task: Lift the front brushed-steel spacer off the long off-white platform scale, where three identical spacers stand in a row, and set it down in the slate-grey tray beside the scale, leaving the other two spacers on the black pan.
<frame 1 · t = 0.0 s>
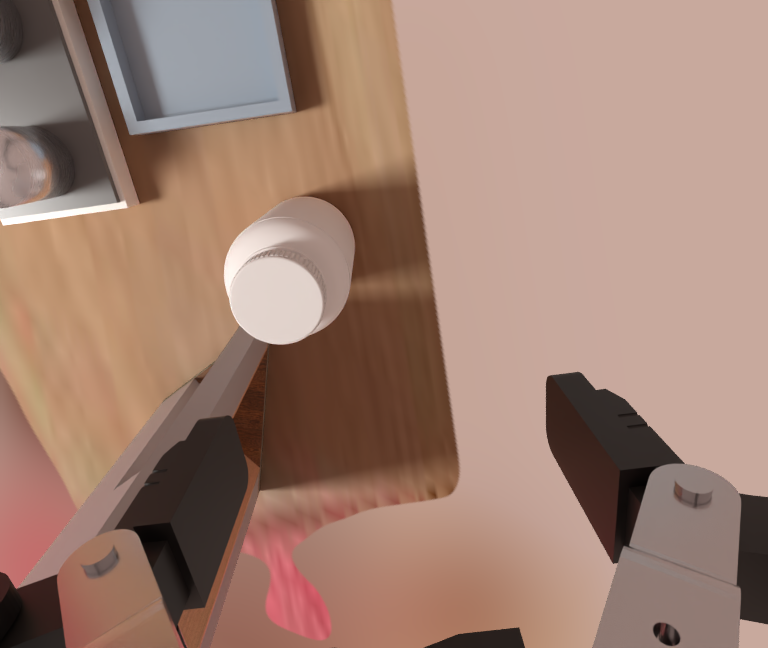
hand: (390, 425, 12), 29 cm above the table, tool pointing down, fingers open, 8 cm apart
pill bottle: (309, 242, 40), on the table
scale: (4, 12, 33), on the table
tray: (197, 33, 34), on the table
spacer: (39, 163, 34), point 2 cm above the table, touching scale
cabinet: (215, 400, 46), on the table
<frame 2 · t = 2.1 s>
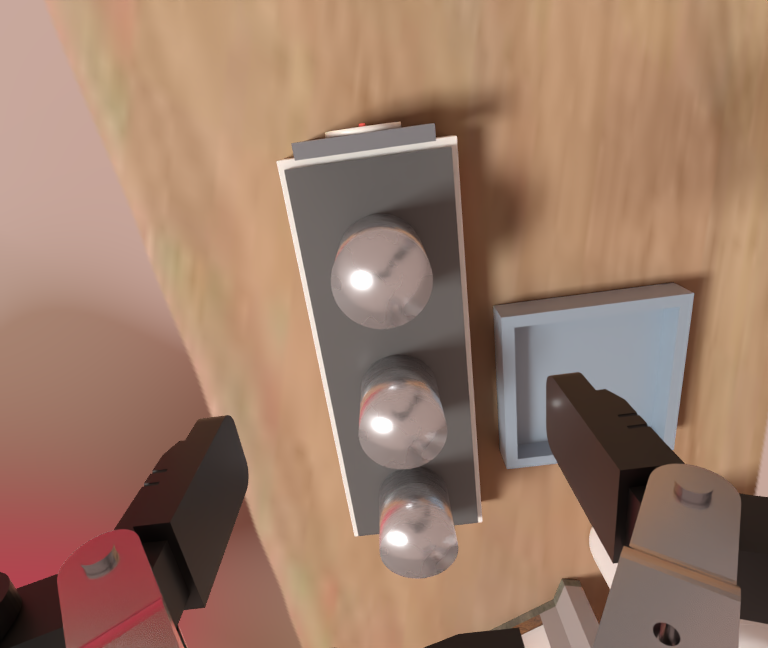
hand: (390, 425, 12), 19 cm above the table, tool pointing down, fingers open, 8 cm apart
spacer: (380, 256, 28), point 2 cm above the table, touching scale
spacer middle: (398, 388, 31), point 2 cm above the table, touching scale
pill bottle: (632, 528, 40), on the table
scale: (395, 358, 33), on the table
tray: (580, 372, 34), on the table
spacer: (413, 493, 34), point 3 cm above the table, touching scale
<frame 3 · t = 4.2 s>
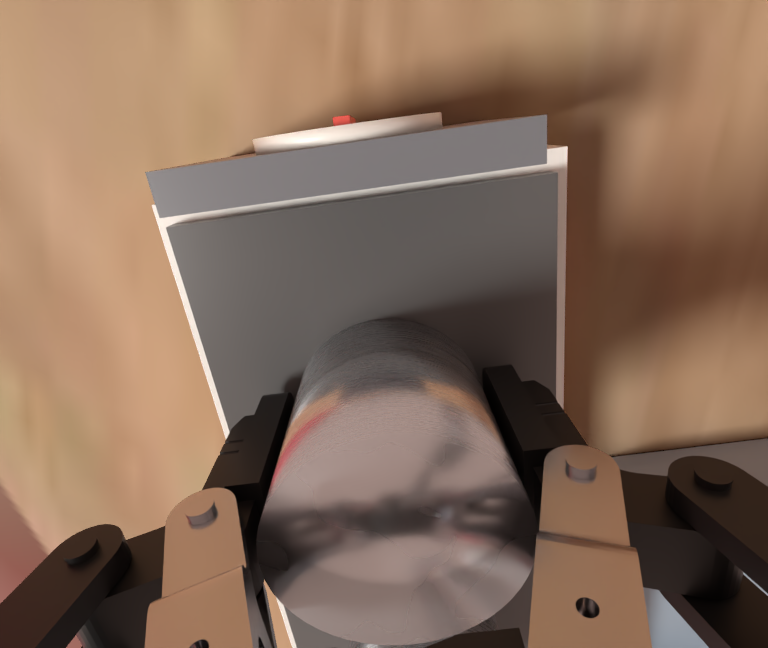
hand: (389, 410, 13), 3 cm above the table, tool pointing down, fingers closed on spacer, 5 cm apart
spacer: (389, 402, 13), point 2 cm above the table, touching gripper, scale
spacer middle: (422, 621, 16), point 2 cm above the table, touching scale
scale: (413, 542, 18), on the table
tray: (739, 559, 19), on the table
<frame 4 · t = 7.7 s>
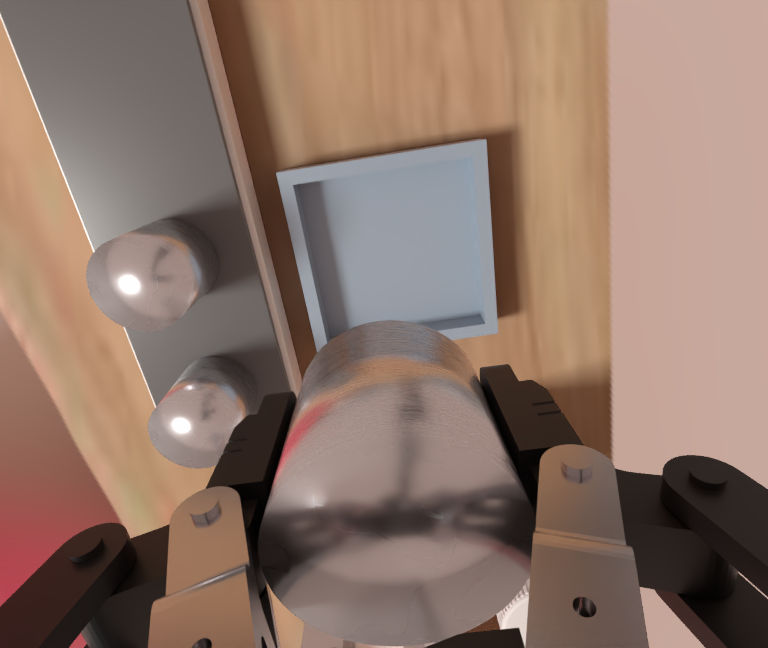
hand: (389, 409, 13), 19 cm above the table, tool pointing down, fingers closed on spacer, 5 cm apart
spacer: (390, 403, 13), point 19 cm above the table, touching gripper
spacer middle: (176, 260, 28), point 2 cm above the table, touching scale
pill bottle: (484, 437, 37), on the table
scale: (186, 235, 30), on the table
tray: (393, 250, 31), on the table
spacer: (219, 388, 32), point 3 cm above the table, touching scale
cabinet: (363, 580, 43), on the table
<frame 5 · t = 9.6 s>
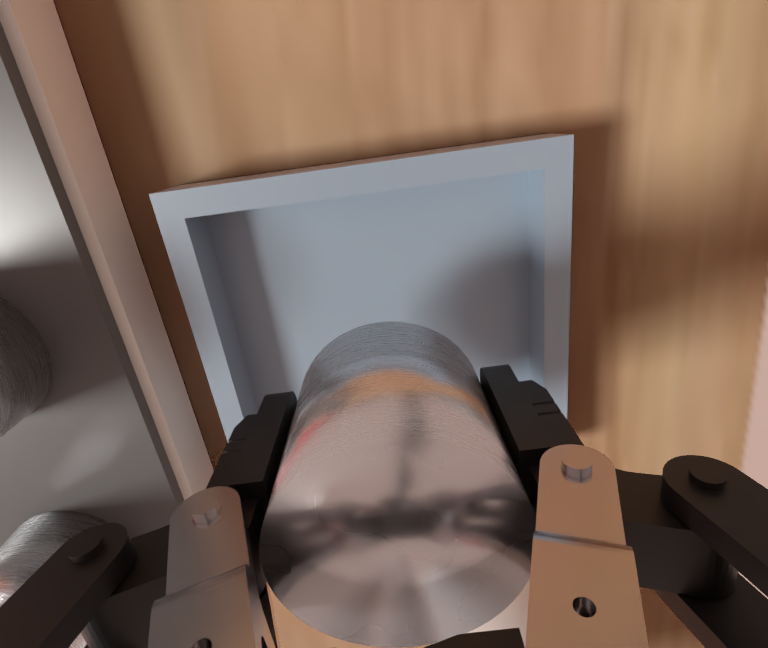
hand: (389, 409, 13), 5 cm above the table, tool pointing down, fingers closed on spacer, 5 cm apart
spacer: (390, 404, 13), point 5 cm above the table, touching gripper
pill bottle: (523, 602, 24), on the table
scale: (12, 298, 17), on the table
tray: (384, 328, 17), on the table
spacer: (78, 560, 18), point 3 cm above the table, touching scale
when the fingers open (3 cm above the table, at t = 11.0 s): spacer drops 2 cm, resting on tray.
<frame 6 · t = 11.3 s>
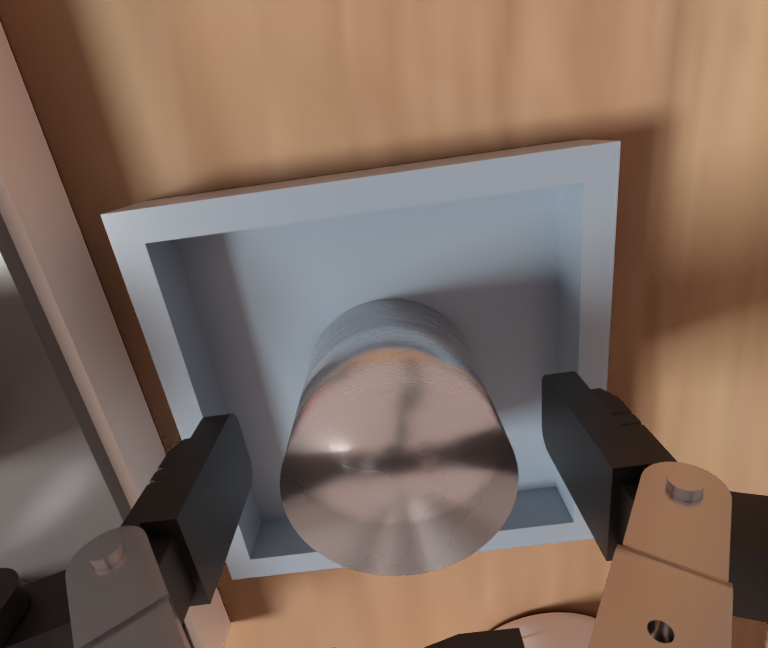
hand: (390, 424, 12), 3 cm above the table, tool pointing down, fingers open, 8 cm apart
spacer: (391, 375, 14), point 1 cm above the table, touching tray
tray: (387, 365, 15), on the table
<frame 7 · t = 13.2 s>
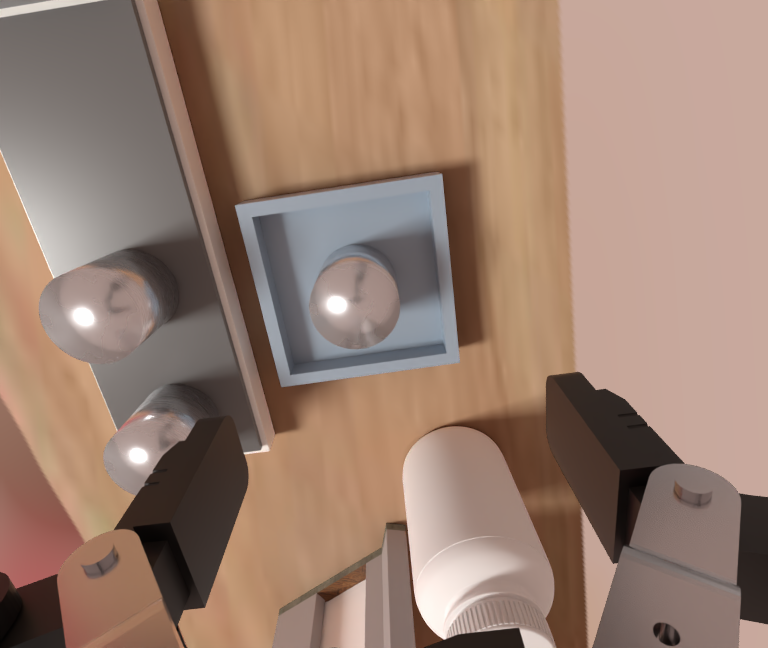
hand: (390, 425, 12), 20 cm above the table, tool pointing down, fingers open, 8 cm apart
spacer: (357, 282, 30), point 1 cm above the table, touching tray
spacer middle: (137, 290, 28), point 2 cm above the table, touching scale
pill bottle: (452, 463, 37), on the table
scale: (150, 264, 30), on the table
tray: (356, 279, 31), on the table
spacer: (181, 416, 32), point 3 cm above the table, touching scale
cabinet: (334, 607, 42), on the table
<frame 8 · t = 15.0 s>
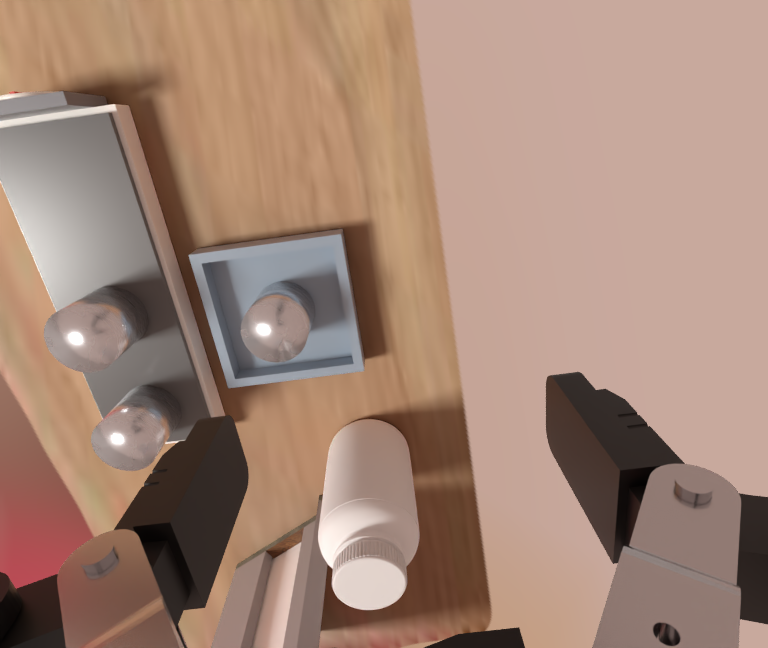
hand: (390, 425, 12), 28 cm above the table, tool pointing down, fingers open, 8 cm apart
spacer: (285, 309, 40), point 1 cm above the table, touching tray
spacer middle: (116, 315, 38), point 2 cm above the table, touching scale
pill bottle: (369, 448, 47), on the table
scale: (127, 294, 40), on the table
tray: (285, 306, 40), on the table
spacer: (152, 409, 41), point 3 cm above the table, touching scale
cabinet: (281, 563, 52), on the table
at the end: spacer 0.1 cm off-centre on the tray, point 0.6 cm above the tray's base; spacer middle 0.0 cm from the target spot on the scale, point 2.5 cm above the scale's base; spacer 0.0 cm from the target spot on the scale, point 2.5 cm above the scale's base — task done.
